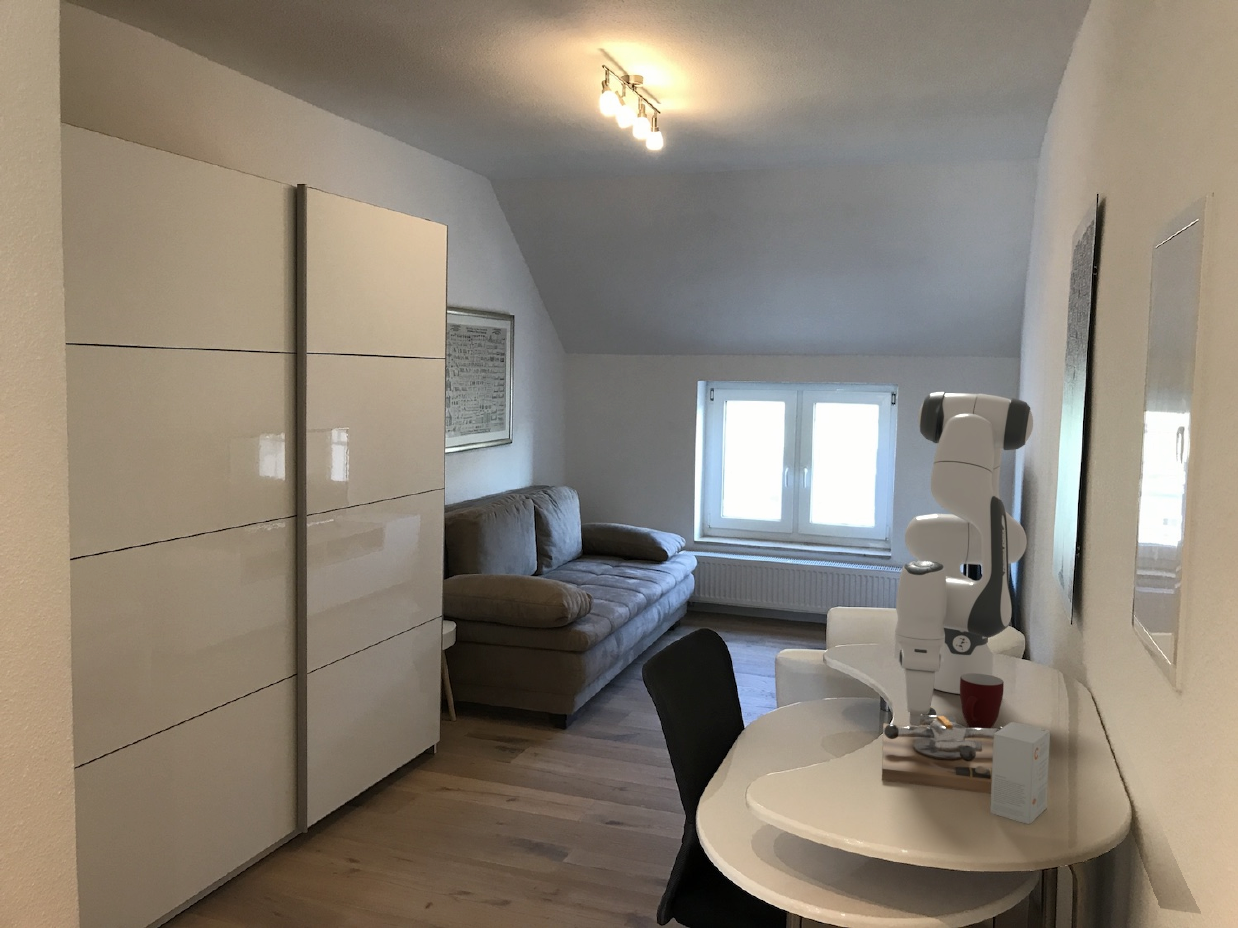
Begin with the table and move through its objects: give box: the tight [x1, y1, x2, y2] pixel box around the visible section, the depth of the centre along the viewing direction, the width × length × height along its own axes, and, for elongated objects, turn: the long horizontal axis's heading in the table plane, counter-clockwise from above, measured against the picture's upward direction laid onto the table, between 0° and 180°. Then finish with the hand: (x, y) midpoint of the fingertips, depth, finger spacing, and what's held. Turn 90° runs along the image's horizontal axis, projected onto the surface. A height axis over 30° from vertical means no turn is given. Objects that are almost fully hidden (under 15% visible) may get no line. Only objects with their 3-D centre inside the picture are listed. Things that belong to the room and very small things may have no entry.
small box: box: [989, 721, 1051, 825], centre depth 157 cm, size 8×6×13 cm
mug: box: [959, 673, 1005, 728], centre depth 195 cm, size 10×8×10 cm
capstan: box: [884, 706, 1005, 761], centre depth 177 cm, size 23×23×5 cm
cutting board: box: [881, 723, 994, 794], centre depth 178 cm, size 24×22×4 cm
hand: (914, 724), depth 182 cm, fingers closed, pressing on capstan
